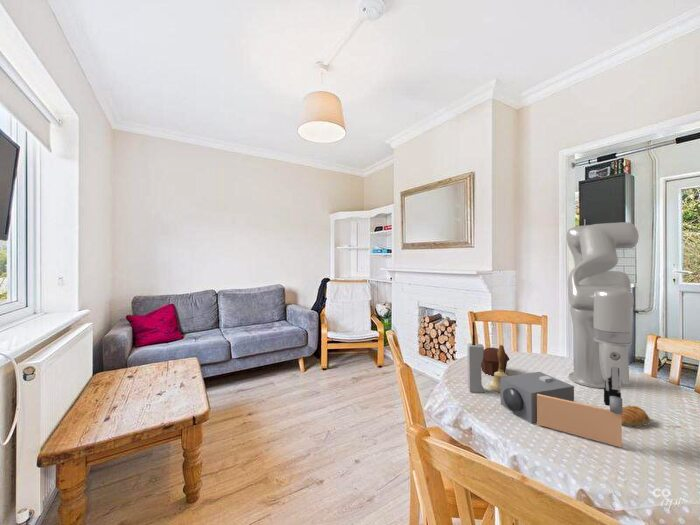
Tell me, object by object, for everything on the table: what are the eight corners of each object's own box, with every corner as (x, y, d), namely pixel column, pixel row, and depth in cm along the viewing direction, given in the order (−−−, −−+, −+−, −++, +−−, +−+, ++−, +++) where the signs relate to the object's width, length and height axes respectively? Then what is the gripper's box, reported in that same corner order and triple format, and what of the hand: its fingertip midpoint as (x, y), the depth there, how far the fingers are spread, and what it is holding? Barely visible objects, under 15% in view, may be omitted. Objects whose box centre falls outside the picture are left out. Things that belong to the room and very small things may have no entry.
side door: (621, 444, 75) (621, 397, 75) (623, 449, 73) (623, 401, 73) (537, 421, 86) (537, 380, 86) (536, 425, 84) (536, 383, 84)
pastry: (635, 432, 81) (635, 418, 81) (606, 420, 88) (606, 407, 88) (652, 424, 85) (652, 410, 85) (623, 413, 91) (623, 400, 91)
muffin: (476, 374, 123) (476, 350, 122) (480, 365, 132) (480, 343, 132) (508, 380, 116) (508, 355, 116) (510, 370, 126) (510, 347, 126)
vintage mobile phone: (484, 393, 106) (483, 323, 105) (469, 392, 107) (468, 323, 106) (482, 388, 109) (481, 321, 109) (467, 387, 110) (466, 321, 110)
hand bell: (510, 384, 113) (509, 342, 112) (516, 394, 104) (516, 349, 104) (486, 382, 115) (486, 341, 114) (491, 392, 107) (490, 348, 106)
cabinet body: (539, 397, 102) (539, 369, 101) (574, 415, 90) (573, 383, 90) (496, 405, 97) (496, 375, 97) (527, 424, 86) (526, 391, 85)
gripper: (638, 345, 69) (638, 423, 70) (625, 331, 82) (626, 397, 82) (596, 341, 74) (597, 413, 74) (590, 328, 86) (591, 390, 86)
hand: (612, 405), depth 78 cm, fingers closed
